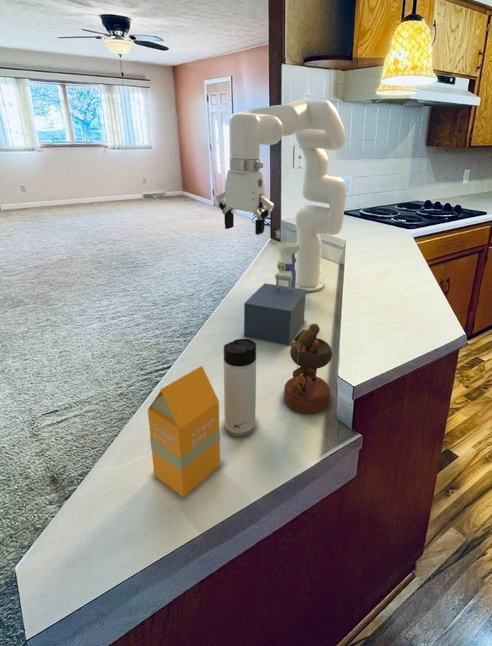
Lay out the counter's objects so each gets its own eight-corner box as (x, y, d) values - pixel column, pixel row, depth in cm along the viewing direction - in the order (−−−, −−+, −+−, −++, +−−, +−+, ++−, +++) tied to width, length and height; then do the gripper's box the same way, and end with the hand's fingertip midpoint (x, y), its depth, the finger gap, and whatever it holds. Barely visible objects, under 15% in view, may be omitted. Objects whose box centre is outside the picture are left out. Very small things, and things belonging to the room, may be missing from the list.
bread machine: (263, 314, 135) (263, 286, 131) (303, 321, 132) (305, 293, 128) (244, 336, 121) (244, 305, 117) (289, 345, 118) (290, 313, 114)
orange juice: (153, 475, 72) (143, 380, 65) (191, 446, 79) (187, 357, 72) (183, 498, 69) (177, 399, 61) (221, 465, 75) (219, 373, 68)
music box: (320, 424, 87) (320, 341, 80) (273, 414, 91) (269, 333, 84) (340, 385, 101) (341, 311, 94) (298, 377, 104) (296, 305, 97)
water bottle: (289, 300, 147) (292, 232, 137) (269, 294, 151) (271, 228, 141) (301, 293, 153) (305, 228, 144) (282, 288, 157) (285, 224, 148)
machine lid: (264, 285, 132) (265, 269, 130) (306, 292, 129) (307, 275, 127) (244, 305, 117) (244, 287, 115) (290, 313, 114) (291, 295, 112)
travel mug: (240, 443, 81) (241, 355, 73) (218, 427, 85) (216, 343, 77) (262, 426, 86) (264, 343, 78) (240, 412, 89) (240, 331, 82)
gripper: (281, 168, 105) (278, 233, 111) (225, 161, 111) (225, 223, 118) (266, 170, 99) (264, 239, 105) (207, 163, 105) (209, 228, 111)
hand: (244, 230), depth 111 cm, fingers open, 9 cm apart
